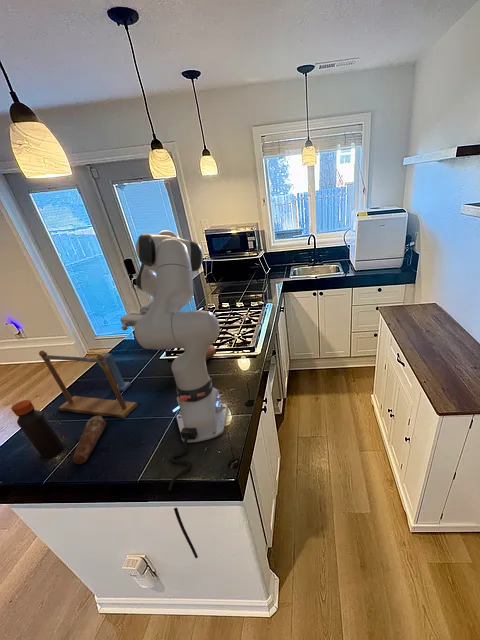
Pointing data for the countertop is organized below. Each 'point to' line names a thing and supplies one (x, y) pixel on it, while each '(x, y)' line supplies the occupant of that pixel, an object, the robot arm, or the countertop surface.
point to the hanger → (116, 372)
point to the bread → (89, 439)
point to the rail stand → (85, 403)
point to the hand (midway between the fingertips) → (131, 329)
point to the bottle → (37, 429)
